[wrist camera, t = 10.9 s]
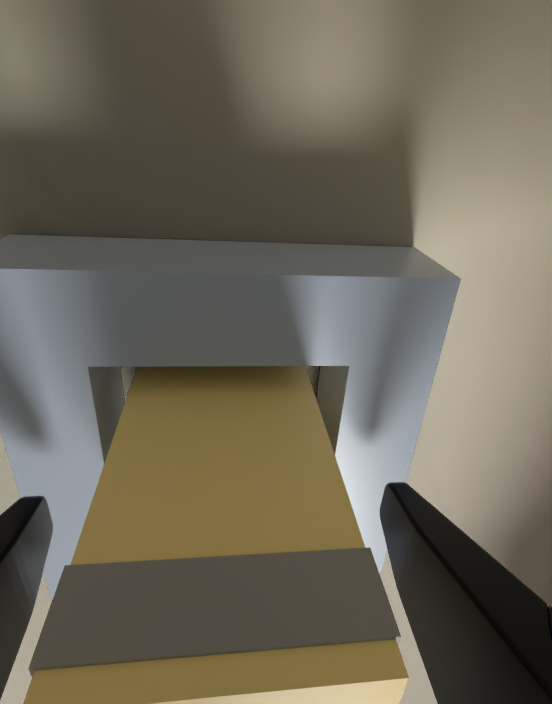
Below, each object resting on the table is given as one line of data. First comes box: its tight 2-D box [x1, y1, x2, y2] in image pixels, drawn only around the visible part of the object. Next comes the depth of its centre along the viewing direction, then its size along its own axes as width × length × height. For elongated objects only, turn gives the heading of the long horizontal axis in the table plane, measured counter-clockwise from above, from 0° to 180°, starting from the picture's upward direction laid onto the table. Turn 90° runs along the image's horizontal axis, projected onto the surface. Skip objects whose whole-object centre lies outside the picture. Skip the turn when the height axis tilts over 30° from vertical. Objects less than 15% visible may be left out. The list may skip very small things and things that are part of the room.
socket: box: [0, 234, 461, 599], centre depth 11 cm, size 9×9×2 cm
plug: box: [23, 366, 409, 704], centre depth 9 cm, size 4×4×8 cm
